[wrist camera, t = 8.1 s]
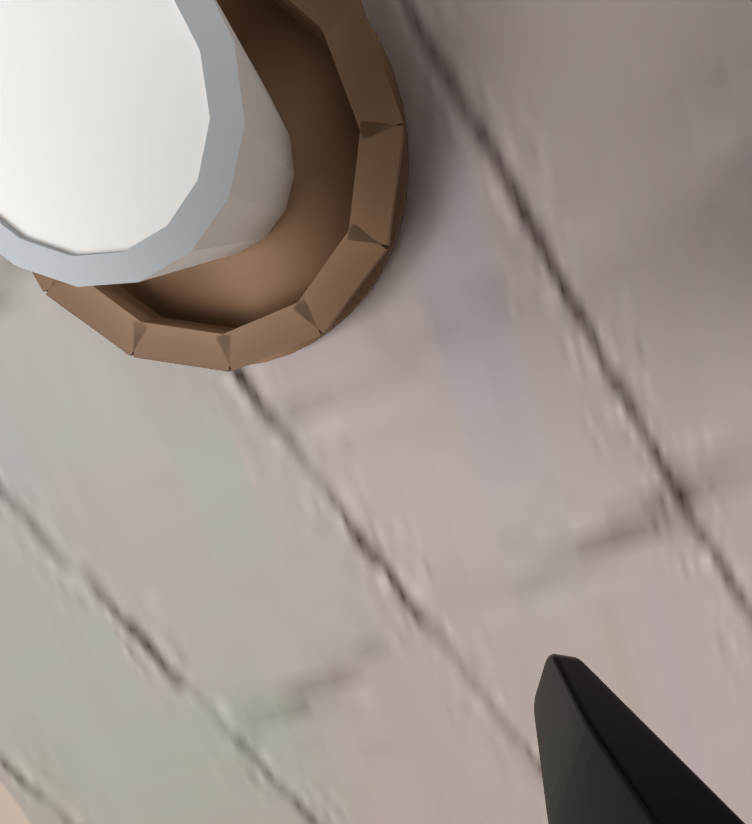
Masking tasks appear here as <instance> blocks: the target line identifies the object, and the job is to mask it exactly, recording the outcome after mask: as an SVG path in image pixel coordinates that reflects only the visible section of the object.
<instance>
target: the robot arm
mask: <svg viewBox="0 0 752 824" xmlns="http://www.w3.org/2000/svg"><path fill="white" fill-rule="evenodd" d="M534 714H535V723H536V731H537V738H538V746H539V754H540V762H541V770H542V778H543V786H544V793H545V801H546V809H547V816H548V823H549V824H745V823H744V822H743V821H742V820H741V819H740V818H739V817H738V816H737V815H736V814H735V813H734V812H733V811H732V810H731V809H730V808H729V807H728V806H727V805H726V804H725V803H724V802H723V801H722V800H721V799H720V798H719V797H718V796H717V795H716V794H715V793H714V792H713V791H712V790H711V789H710V788H709V787H708V786H707V785H706V784H705V783H704V782H703V781H702V780H701V779H700V778H699V777H698V776H697V775H696V774H695V773H694V772H693V771H692V770H691V769H690V768H689V767H688V766H687V765H686V764H685V763H684V762H683V761H682V760H681V759H680V758H679V757H678V756H677V755H676V754H675V753H674V752H673V751H672V750H671V749H669V748H668V747H667V746H666V745H665V744H664V743H663V742H662V741H661V740H660V739H659V738H658V737H657V736H656V735H655V734H654V733H653V732H652V731H651V730H650V729H649V728H648V727H647V726H646V725H645V724H644V723H643V722H642V721H641V720H640V719H639V718H638V717H637V716H636V715H635V714H634V713H633V712H632V711H631V710H630V709H629V708H628V707H627V706H626V705H625V704H624V703H623V702H622V701H621V700H620V699H619V698H618V697H617V696H616V695H615V694H614V693H613V692H612V691H611V690H610V689H609V688H608V687H607V686H606V685H605V684H604V683H603V682H602V681H601V680H600V679H599V678H598V677H597V676H596V675H595V674H594V673H593V672H592V671H591V670H590V669H589V668H588V667H587V666H586V665H585V664H584V663H583V662H582V661H581V660H580V659H578V658H575V657H571V656H565V655H558V654H552V655H550V656H549V657H548V658H547V660H546V662H545V666H544V669H543V672H542V676H541V679H540V682H539V686H538V689H537V692H536V696H535V702H534Z"/></svg>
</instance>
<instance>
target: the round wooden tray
mask: <svg viewBox="0 0 752 824" xmlns="http://www.w3.org/2000/svg"><path fill="white" fill-rule="evenodd" d="M216 1H217V2H218V4H219V6H220V8H221V10H222V11H223V13H224V15H225V17H226V19H227V20H228V22H229V24H230V26H231V27H232V29H233V31H234V33H235V35H236V36H237V38H238V40H239V42H240V43H241V45H242V47H243V49H244V51H245V52H246V54H247V56H248V58H249V60H250V61H251V63H252V65H253V67H254V68H255V70H256V72H257V74H258V76H259V77H260V79H261V81H262V83H263V85H264V86H265V88H266V90H267V92H268V93H269V95H270V97H271V99H272V101H273V103H274V105H275V107H276V109H277V111H278V113H279V115H280V117H281V119H282V121H283V123H284V125H285V127H286V129H287V131H288V133H289V135H290V139H291V148H292V157H293V167H294V179H293V182H292V186H291V190H290V194H289V198H288V202H287V206H286V210H285V212H284V213H283V214H282V216H281V217H280V218H279V220H278V221H277V222H276V224H275V225H274V226H273V228H272V229H271V230H270V232H269V233H268V234H267V236H266V237H265V238H264V239H262V240H260V241H258V242H256V243H255V244H253V245H251V246H249V247H248V248H246V249H244V250H242V251H240V252H239V253H237V254H233V255H230V256H226V257H223V258H219V259H216V260H213V261H209V262H206V263H202V264H199V265H195V266H192V267H189V268H185V269H182V270H178V271H175V272H172V273H168V274H165V275H161V276H158V277H154V278H151V279H148V280H144V281H141V282H135V283H122V284H109V285H95V286H82V287H76V286H73V285H70V284H67V283H64V282H61V281H58V280H56V279H53V278H50V277H47V276H44V275H41V274H38V273H35V272H33V274H34V276H35V278H36V280H37V281H38V283H39V285H40V287H41V288H42V290H43V292H44V291H48V292H47V294H46V295H47V296H49V297H50V298H51V299H53V300H54V301H56V302H57V303H58V304H60V305H61V306H62V307H64V308H65V309H67V310H68V311H69V312H71V313H72V314H73V315H75V316H76V317H78V318H79V319H80V320H82V321H83V322H84V323H86V324H87V325H89V326H90V327H91V328H93V329H94V330H95V331H97V332H98V333H100V334H101V335H102V336H104V337H105V338H106V339H108V340H109V341H111V342H112V343H113V344H115V345H116V346H117V347H119V348H120V349H122V350H123V351H124V352H126V353H127V354H129V355H130V356H131V355H134V357H135V358H142V359H149V360H155V361H162V362H169V363H175V364H182V365H189V366H195V367H202V368H209V369H215V370H222V371H228V372H229V371H231V370H232V371H234V370H236V369H239V368H241V367H244V366H246V365H251V364H256V363H262V362H267V361H270V360H273V359H276V358H280V357H283V356H286V355H289V354H291V353H293V352H295V351H297V350H299V349H301V348H303V347H305V346H307V345H310V344H311V343H313V342H314V341H316V340H317V339H319V338H320V337H322V336H323V335H325V334H326V333H328V332H329V331H331V330H332V329H333V328H334V327H335V326H336V325H338V324H339V323H340V322H341V321H342V320H343V319H344V318H345V317H347V316H348V315H349V314H350V313H351V312H352V311H353V310H354V309H355V308H356V306H357V305H358V304H359V303H360V302H361V301H362V299H363V298H364V297H365V296H366V295H367V294H368V292H369V291H370V289H371V287H372V286H373V284H374V283H375V281H376V280H377V278H378V277H379V275H380V274H381V272H382V270H383V268H384V266H385V264H386V262H387V260H388V258H389V256H390V253H391V251H392V249H393V246H394V243H395V240H396V237H397V234H398V232H399V229H400V226H401V221H402V217H403V212H404V207H405V202H406V196H407V184H408V172H409V164H408V139H407V130H406V123H405V117H404V111H403V104H402V101H401V97H400V94H399V90H398V87H397V83H396V80H395V76H394V73H393V70H392V68H391V66H390V63H389V61H388V59H387V56H386V54H385V51H384V49H383V47H382V44H381V42H380V41H379V39H378V37H377V35H376V34H375V32H374V30H373V28H372V27H371V25H370V23H369V21H368V20H367V18H366V15H365V12H364V9H363V7H362V4H361V1H360V0H216Z"/></svg>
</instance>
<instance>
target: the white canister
mask: <svg viewBox="0 0 752 824" xmlns="http://www.w3.org/2000/svg"><path fill="white" fill-rule="evenodd" d="M293 179H294V167H293V157H292V148H291V139H290V135H289V133H288V131H287V129H286V127H285V125H284V123H283V121H282V119H281V117H280V115H279V113H278V111H277V109H276V107H275V105H274V103H273V101H272V99H271V97H270V95H269V93H268V92H267V90H266V88H265V86H264V85H263V83H262V81H261V79H260V77H259V76H258V74H257V72H256V70H255V68H254V67H253V65H252V63H251V61H250V60H249V58H248V56H247V54H246V52H245V51H244V49H243V47H242V45H241V43H240V42H239V40H238V38H237V36H236V35H235V33H234V31H233V29H232V27H231V26H230V24H229V22H228V20H227V19H226V17H225V15H224V13H223V11H222V10H221V8H220V6H219V4H218V2H217V1H216V0H0V254H1V255H2V256H4V257H5V258H6V259H8V260H9V261H10V262H11V263H13V264H14V265H15V266H17V267H20V268H23V269H26V270H29V271H32V272H35V273H38V274H41V275H44V276H47V277H50V278H53V279H56V280H58V281H61V282H64V283H67V284H70V285H73V286H76V287H82V286H95V285H109V284H122V283H135V282H141V281H144V280H148V279H151V278H154V277H158V276H161V275H165V274H168V273H172V272H175V271H178V270H182V269H185V268H189V267H192V266H195V265H199V264H202V263H206V262H209V261H213V260H216V259H219V258H223V257H226V256H230V255H233V254H237V253H239V252H240V251H242V250H244V249H246V248H248V247H249V246H251V245H253V244H255V243H256V242H258V241H260V240H262V239H264V238H265V237H266V236H267V234H268V233H269V232H270V230H271V229H272V228H273V226H274V225H275V224H276V222H277V221H278V220H279V218H280V217H281V216H282V214H283V213H284V212H285V210H286V206H287V202H288V198H289V194H290V190H291V186H292V182H293Z"/></svg>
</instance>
